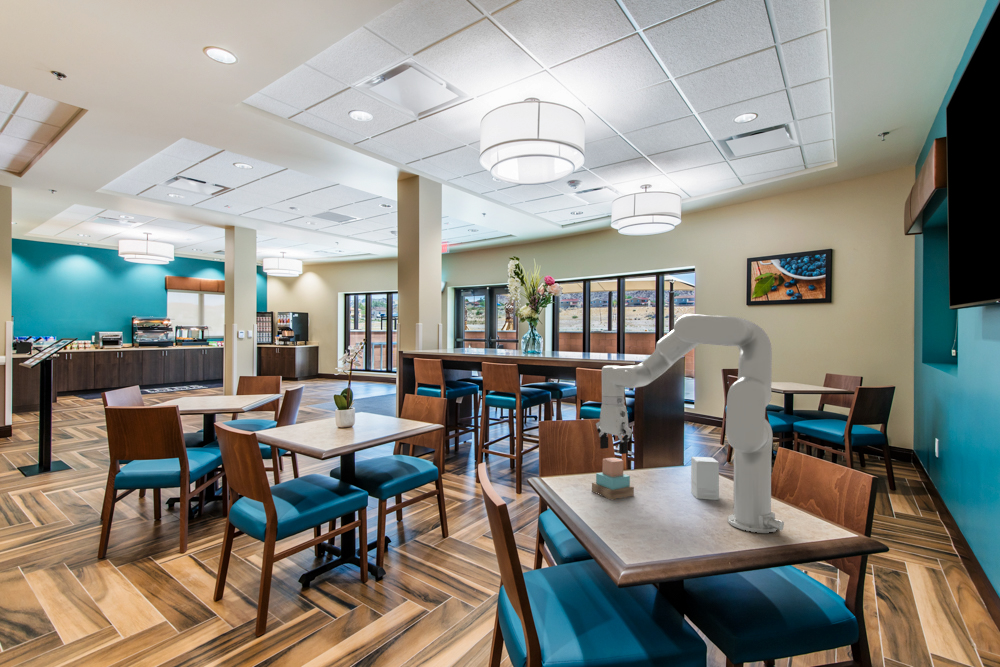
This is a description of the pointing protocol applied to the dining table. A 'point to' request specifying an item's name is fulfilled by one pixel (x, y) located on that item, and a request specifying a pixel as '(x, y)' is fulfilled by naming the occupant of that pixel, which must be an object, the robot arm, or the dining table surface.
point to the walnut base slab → (613, 491)
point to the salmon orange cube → (612, 467)
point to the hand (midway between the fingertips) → (613, 450)
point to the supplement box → (705, 478)
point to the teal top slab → (613, 481)
